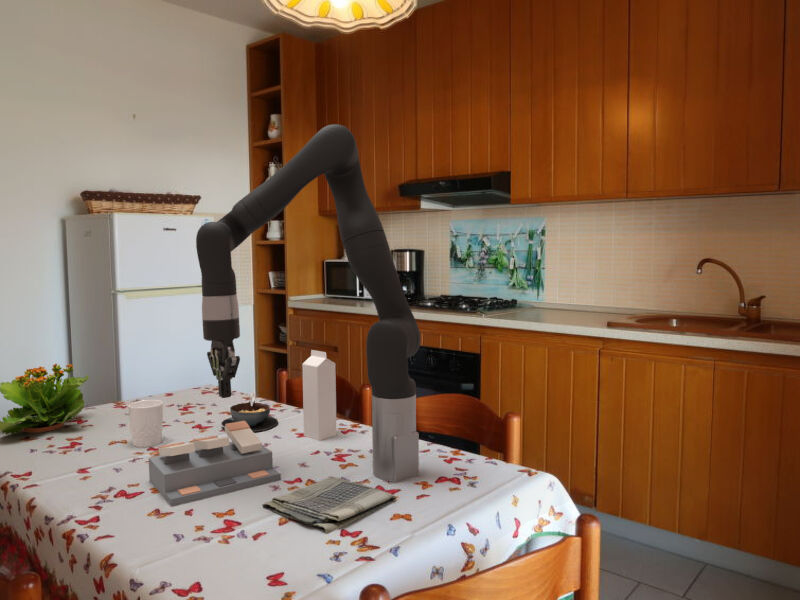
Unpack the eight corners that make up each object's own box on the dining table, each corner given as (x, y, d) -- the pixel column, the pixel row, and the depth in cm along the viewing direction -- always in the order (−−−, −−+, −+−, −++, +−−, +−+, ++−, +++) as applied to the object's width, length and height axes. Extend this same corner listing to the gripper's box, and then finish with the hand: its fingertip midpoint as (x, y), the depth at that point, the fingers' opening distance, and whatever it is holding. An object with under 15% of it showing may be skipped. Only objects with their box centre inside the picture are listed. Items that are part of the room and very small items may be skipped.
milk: (318, 441, 152) (316, 354, 151) (303, 436, 157) (301, 351, 155) (337, 435, 157) (335, 350, 155) (321, 431, 161) (319, 348, 159)
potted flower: (-13, 425, 169) (-17, 363, 168) (81, 410, 184) (78, 353, 183) (0, 447, 150) (-4, 376, 149) (104, 428, 165) (101, 364, 164)
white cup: (170, 438, 156) (168, 400, 155) (154, 448, 148) (153, 408, 147) (140, 438, 156) (138, 399, 156) (123, 448, 149) (121, 407, 148)
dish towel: (331, 482, 127) (331, 467, 127) (398, 504, 116) (397, 488, 115) (258, 512, 113) (258, 495, 112) (326, 541, 101) (325, 522, 101)
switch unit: (280, 480, 127) (280, 450, 126) (171, 507, 114) (169, 474, 113) (250, 459, 140) (250, 432, 139) (149, 481, 127) (148, 451, 126)
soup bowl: (210, 432, 161) (209, 405, 161) (242, 417, 177) (241, 391, 176) (260, 437, 157) (260, 408, 157) (289, 420, 172) (288, 394, 172)
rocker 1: (195, 451, 121) (193, 441, 121) (172, 456, 118) (170, 446, 119) (181, 451, 129) (180, 442, 129) (159, 455, 126) (158, 446, 127)
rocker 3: (261, 449, 129) (262, 441, 129) (241, 453, 127) (242, 445, 126) (243, 427, 137) (244, 420, 137) (224, 431, 135) (225, 423, 134)
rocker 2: (229, 445, 125) (228, 435, 125) (208, 449, 122) (207, 439, 123) (213, 444, 133) (212, 435, 133) (193, 448, 130) (192, 439, 131)
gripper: (250, 317, 128) (254, 399, 129) (225, 313, 138) (229, 389, 139) (215, 320, 123) (219, 405, 124) (192, 316, 133) (197, 395, 135)
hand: (225, 396), depth 132 cm, fingers closed
